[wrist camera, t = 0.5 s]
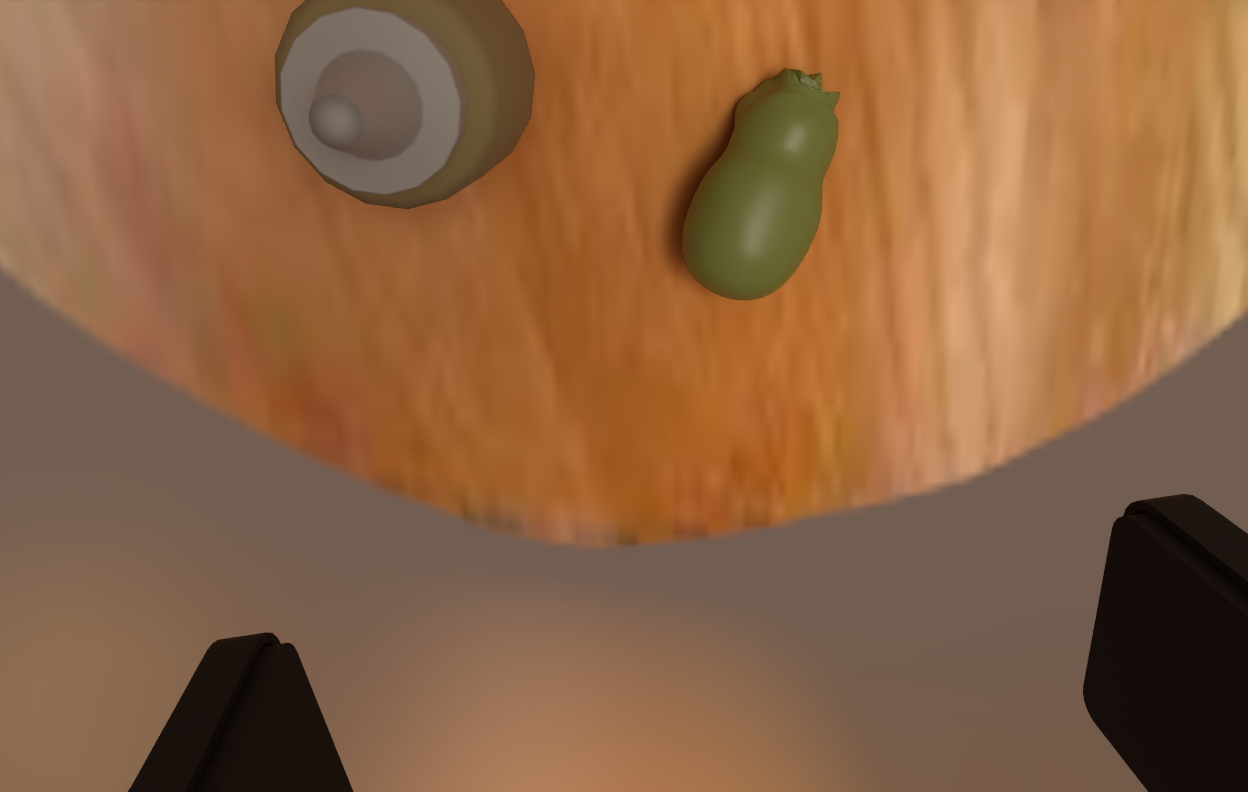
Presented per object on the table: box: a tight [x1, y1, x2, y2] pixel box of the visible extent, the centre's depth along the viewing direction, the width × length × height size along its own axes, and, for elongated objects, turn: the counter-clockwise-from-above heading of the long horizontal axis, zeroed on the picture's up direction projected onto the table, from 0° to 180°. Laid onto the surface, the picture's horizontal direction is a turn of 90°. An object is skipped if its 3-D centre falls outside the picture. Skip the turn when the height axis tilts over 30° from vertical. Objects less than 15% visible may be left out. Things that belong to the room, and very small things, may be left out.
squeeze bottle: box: [275, 0, 535, 209], centre depth 25 cm, size 8×8×18 cm
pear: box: [682, 68, 840, 300], centre depth 34 cm, size 6×5×10 cm
